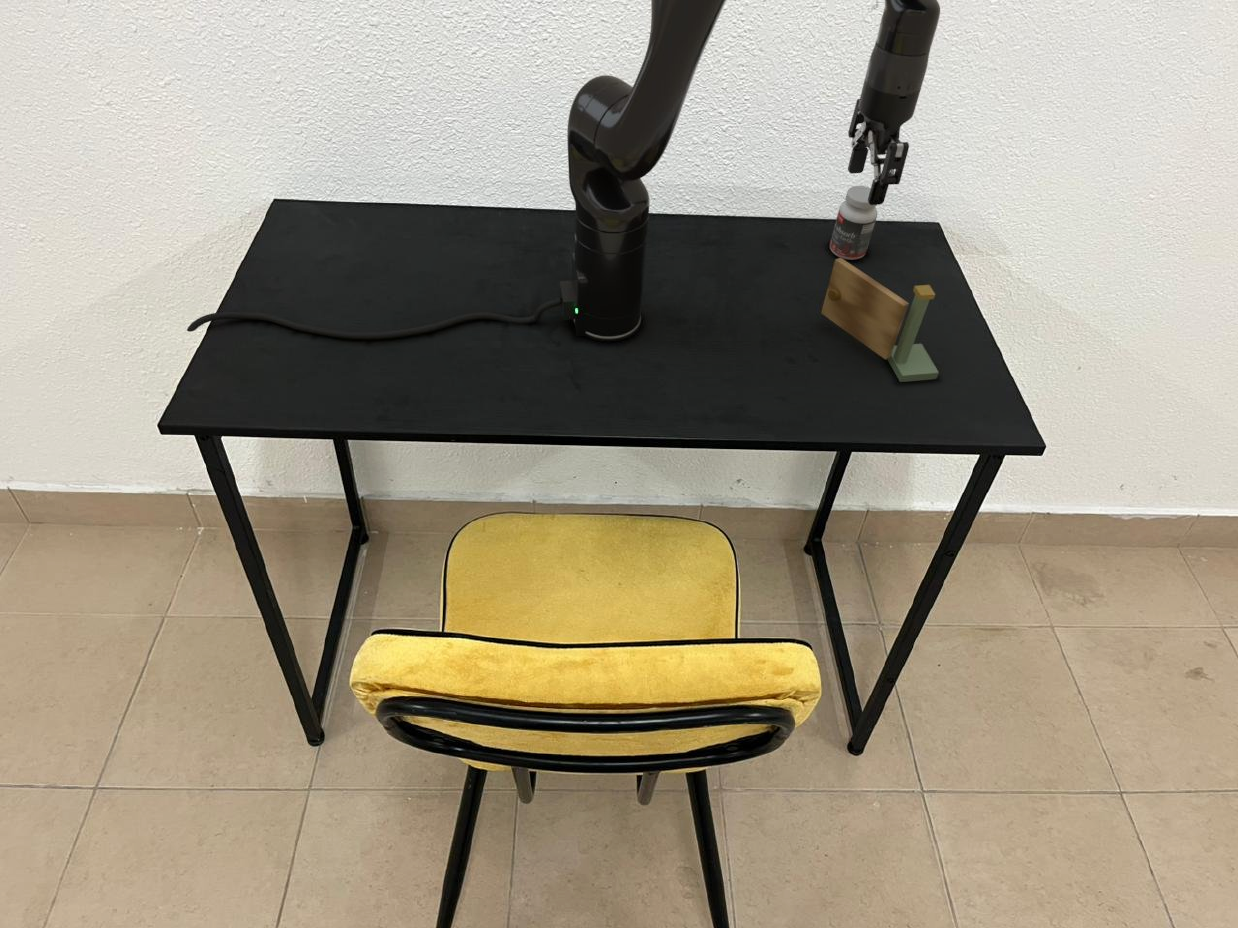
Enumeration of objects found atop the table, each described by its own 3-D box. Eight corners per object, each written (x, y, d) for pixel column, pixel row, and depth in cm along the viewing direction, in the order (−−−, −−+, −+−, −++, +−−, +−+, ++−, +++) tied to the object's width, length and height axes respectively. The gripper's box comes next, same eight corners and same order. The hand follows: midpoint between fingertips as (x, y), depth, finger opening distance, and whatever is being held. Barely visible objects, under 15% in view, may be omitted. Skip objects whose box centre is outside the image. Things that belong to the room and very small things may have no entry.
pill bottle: (821, 248, 142) (835, 191, 135) (845, 236, 144) (860, 179, 137) (849, 265, 139) (865, 208, 132) (873, 253, 142) (890, 196, 134)
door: (816, 315, 128) (830, 261, 121) (825, 310, 129) (840, 257, 122) (881, 362, 122) (899, 308, 115) (890, 357, 123) (909, 303, 116)
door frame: (898, 382, 121) (927, 305, 112) (882, 353, 125) (908, 276, 116) (936, 379, 122) (967, 302, 113) (919, 350, 126) (948, 273, 117)
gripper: (849, 56, 126) (824, 163, 138) (886, 105, 117) (857, 216, 129) (900, 54, 127) (871, 161, 139) (941, 103, 118) (907, 213, 130)
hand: (864, 187), depth 134 cm, fingers open, 8 cm apart
